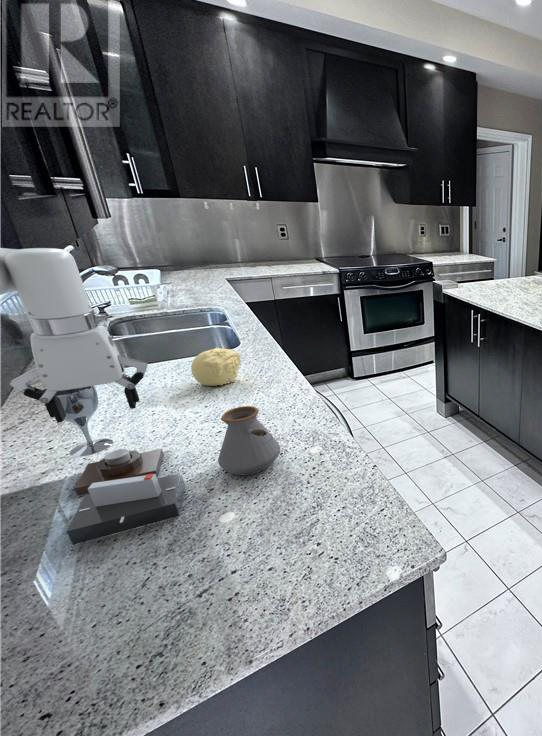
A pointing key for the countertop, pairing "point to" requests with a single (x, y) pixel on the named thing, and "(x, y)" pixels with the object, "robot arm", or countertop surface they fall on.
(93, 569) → the countertop surface
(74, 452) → the wine glass
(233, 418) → the coffee pot
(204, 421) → the countertop surface
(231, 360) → the pale yellow lumpy ball
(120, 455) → the button
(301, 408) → the countertop surface
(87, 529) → the dark grey flat block
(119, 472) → the switch block
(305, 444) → the countertop surface
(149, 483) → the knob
